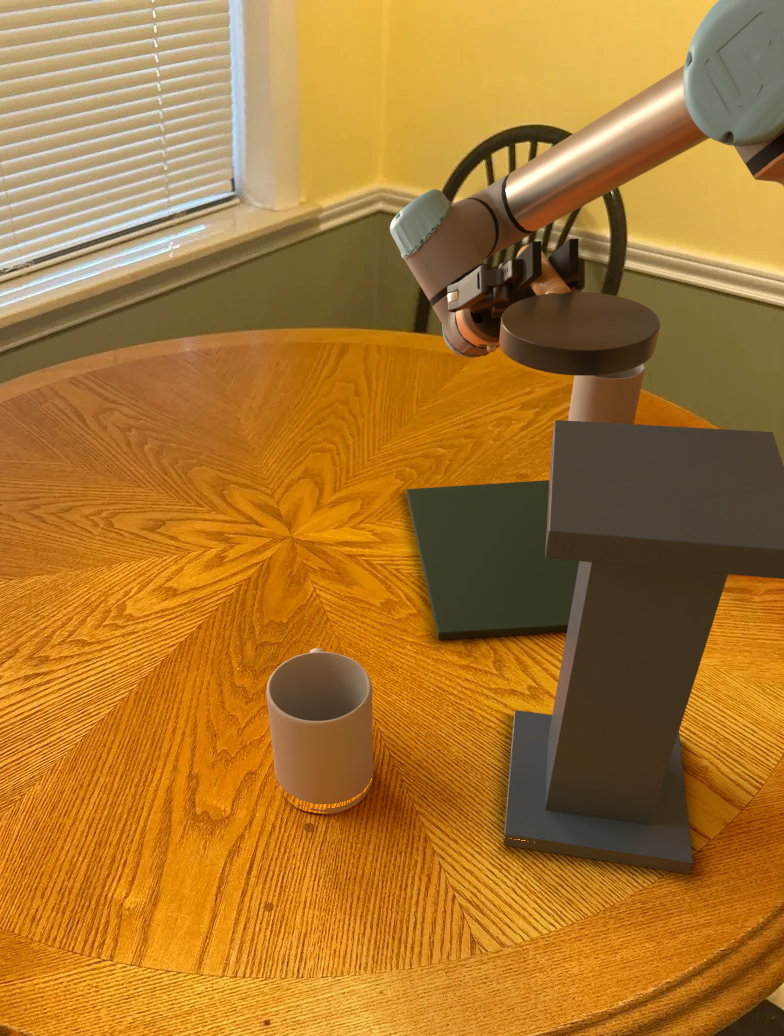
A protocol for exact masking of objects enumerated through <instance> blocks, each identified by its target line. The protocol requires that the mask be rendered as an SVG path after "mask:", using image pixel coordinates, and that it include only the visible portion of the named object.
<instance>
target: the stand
mask: <svg viewBox="0 0 784 1036" xmlns="http://www.w3.org/2000/svg"><path fill="white" fill-rule="evenodd" d="M549 464H550V465H549V478H548V480H549V496H548V514H547V531H546V548H545V558H548V559H560V560H571V561H579V567H578V573H577V578H576V584H575V589H574V595H573V601H572V606H571V612H570V618H569V623H568V629H567V632H566V634H565V635H566V636H565V641H564V647H563V654H562V658H561V662H560V669H559V675H558V680H557V686H556V692H555V697H554V702H553V709H552V714H549V713H541V712H533V711H526V710H514V712H513V713H514V715H513V721H512V732H511V741H510V742H511V744H510V756H509V768H508V780H507V790H506V792H507V793H506V802H505V815H504V826H503V828H504V829H503V838H502V839H503V840H502V846H506V847H513V848H519V849H525V850H532V851H539V852H545V853H550V854H551V853H552V854H556V855H557V854H558V855H564V856H571V857H576V858H583V859H591V860H595V861H596V860H597V861H602V862H609V863H616V864H622V865H628V866H635V867H642V868H648V869H653V870H661V871H666V872H667V871H668V872H674V873H681V874H685V875H686V874H688V875H689V874H690V872H691V870H692V867H693V865H694V858H693V849H692V840H691V839H692V838H691V829H690V821H689V820H690V819H689V810H688V801H687V792H686V783H685V773H684V765H683V763H684V762H683V756H682V754H683V753H682V745H681V737H680V736H681V735H680V728H681V725H682V722H683V719H684V716H685V713H686V710H687V707H688V704H689V701H690V697H691V694H692V691H693V688H694V684H695V681H696V677H697V675H698V671H699V668H700V665H701V662H702V658H703V655H704V652H705V650H706V646H707V643H708V640H709V636H710V634H711V630H712V627H713V623H714V621H715V617H716V614H717V611H718V608H719V605H720V602H721V597H722V595H723V592H724V589H725V587H726V582H727V580H728V576H729V575H732V576H733V575H735V576H744V577H745V576H746V577H755V578H765V579H767V578H768V579H780V580H784V463H783V460H782V456H781V454H780V451H779V448H778V444H777V442H776V438H775V435H774V432H773V431H761V430H760V431H759V430H743V429H726V428H708V427H689V426H673V425H672V426H670V425H654V424H653V425H652V424H635V423H634V424H619V423H600V422H582V421H568V420H563V419H562V420H561V419H555V421H554V424H553V430H552V438H551V447H550V463H549ZM505 819H506V820H505ZM504 831H505V832H504ZM504 837H505V838H504ZM508 838H512V839H508ZM514 839H520V840H514ZM521 840H526V841H521ZM527 841H529V842H527ZM534 842H535V843H534Z"/></svg>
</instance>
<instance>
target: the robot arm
mask: <svg viewBox="0 0 784 1036" xmlns="http://www.w3.org/2000/svg"><path fill="white" fill-rule="evenodd" d="M709 139H712V140H713V141H716V142H718V143H721V144H723V145H725V146H731V147H732V146H733V147H734V149H735V150H736V152H737V153H738V155H739V157H740V158H741V160H742V162H743V163H744V165H745V166H746V168H747V170H748V171H749V173H750V174H751V176H752V177H753V179H754V180H755V181H762V182H763V181H765V182H772V183H774V182H775V183H778V184H780V185H782V186H783V187H784V0H717V1H716V3H714V4H713V6H712V7H711V8H710V9H709V11H708V12H707V13H706V14H705V16H704V17H703V18H702V20H701V21H700V23H699V24H698V27H697V28H696V30H695V32H694V34H693V37H692V38H691V40H690V44H689V46H688V50H687V54H686V57H685V63H684V64H683V65H682V66H680V67H679V68H677V69H676V70H674V71H672V72H670V73H668V74H667V75H666V76H664V77H662V78H660V79H659V80H658V81H656V82H655V83H653V84H651V85H650V86H648V87H647V88H645V89H643V90H641V91H640V92H638V93H636V94H635V95H634V96H631V97H630V98H629V99H627V100H625V101H624V102H621V104H619V105H617V106H616V107H613V109H611V110H610V111H607V112H606V113H605V114H603V115H601V116H599V117H598V118H596V119H595V120H593V121H592V122H590V123H588V124H587V125H585V126H584V127H582V128H580V129H579V130H577V131H576V132H574V133H572V134H571V135H569V136H568V137H566V138H564V139H562V140H561V141H559V142H558V143H556V144H555V145H553V146H551V147H549V148H548V149H547V150H544V152H542V153H540V154H538V155H536V156H535V157H534V158H532V159H530V160H528V161H527V162H526V163H524V164H522V165H521V166H519V167H518V168H516V169H514V170H512V171H511V172H510V173H508V174H506V175H504V176H503V177H501V178H499V179H498V180H496V181H494V182H493V183H491V184H490V185H488V186H487V187H485V188H483V189H481V190H480V191H477V192H476V193H473V194H472V195H470V196H467V197H465V198H463V199H460V200H457V201H456V202H454V203H452V202H451V200H449V199H448V198H447V196H446V195H445V194H444V193H443V191H441V190H440V189H436V188H433V189H430V190H428V191H425V192H424V193H422V194H421V195H419V196H418V197H416V198H415V199H413V200H412V201H410V202H409V203H408V204H407V205H406V206H404V207H403V208H402V209H401V210H400V211H399V212H397V214H395V216H394V217H393V219H391V222H390V226H389V232H390V235H391V237H392V238H393V240H394V242H395V244H396V246H397V248H398V250H399V252H400V256H401V258H402V259H403V260H404V262H405V263H406V265H407V266H408V268H409V270H410V271H411V273H412V274H413V277H414V278H415V280H416V282H417V283H418V284H419V286H420V288H421V289H422V291H423V293H424V294H425V296H426V298H427V299H428V302H429V303H430V305H431V306H432V310H433V311H434V313H435V314H436V316H437V318H438V319H439V321H440V323H441V324H442V326H441V327H442V336H443V340H444V342H445V344H446V345H447V347H448V348H449V349H450V350H451V351H452V352H453V353H455V355H458V356H459V357H463V358H469V359H474V358H480V357H485V356H488V355H490V353H494V352H495V351H496V350H497V349H498V348H501V347H500V344H499V338H500V327H501V317H502V314H503V313H504V311H505V310H506V309H507V308H508V307H509V306H511V305H512V304H514V303H516V302H518V301H520V300H523V299H526V298H529V297H533V296H537V295H536V293H535V292H534V290H533V289H532V287H531V286H530V284H531V283H532V282H534V281H535V280H536V279H537V278H539V277H540V276H541V275H542V254H541V251H542V240H532V241H531V242H530V243H528V244H527V245H528V246H527V247H526V248H525V249H524V250H523V251H522V253H521V254H520V255H519V256H518V257H517V256H516V257H515V258H514V259H510V260H506V261H505V260H504V261H503V262H500V263H499V264H498V265H494V266H493V264H489V263H484V260H486V259H488V258H490V257H491V256H493V255H495V254H497V253H498V252H499V253H500V252H501V251H503V250H505V249H508V248H509V247H512V246H514V245H515V244H517V243H519V242H521V241H522V240H523V239H525V238H527V237H529V236H530V235H533V234H534V233H535V232H537V231H539V230H542V228H544V227H547V226H548V225H550V224H552V223H554V222H556V221H558V220H559V219H561V218H563V217H565V216H567V215H569V214H571V213H573V212H575V211H576V210H578V209H580V208H582V207H584V206H586V205H588V204H590V203H592V202H593V201H595V200H597V199H599V198H601V197H602V196H605V195H606V194H609V193H611V192H612V191H614V190H616V189H617V188H619V187H621V186H624V185H625V184H627V183H628V182H631V181H633V180H634V179H636V178H638V177H640V176H642V175H644V174H646V173H648V172H649V171H651V170H653V169H655V168H657V167H659V166H661V165H663V164H664V163H667V162H668V161H670V160H671V159H674V158H675V157H677V156H679V155H682V154H683V153H685V152H687V151H689V150H691V149H692V148H695V147H696V146H698V145H700V144H702V143H704V142H705V141H707V140H709ZM547 259H548V260H549V262H550V263H551V264H552V266H553V267H554V268H555V270H556V271H557V272H558V274H559V275H560V277H561V278H562V279H563V281H564V282H565V283H566V285H567V286H568V288H569V289H570V290H571V292H583V290H584V289H585V288H586V261H585V260H586V259H584V258H582V257H579V238H568V240H566V242H564V243H563V244H562V245H561V246H559V247H558V248H557V249H556V250H554V251H553V252H552V253H551V255H550V256H548V258H547Z"/></svg>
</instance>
